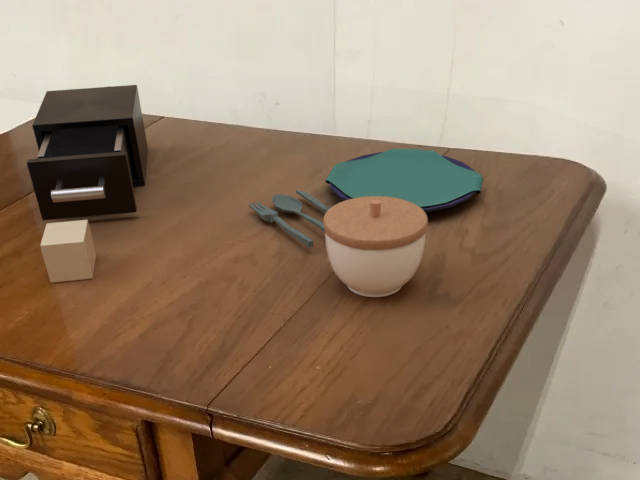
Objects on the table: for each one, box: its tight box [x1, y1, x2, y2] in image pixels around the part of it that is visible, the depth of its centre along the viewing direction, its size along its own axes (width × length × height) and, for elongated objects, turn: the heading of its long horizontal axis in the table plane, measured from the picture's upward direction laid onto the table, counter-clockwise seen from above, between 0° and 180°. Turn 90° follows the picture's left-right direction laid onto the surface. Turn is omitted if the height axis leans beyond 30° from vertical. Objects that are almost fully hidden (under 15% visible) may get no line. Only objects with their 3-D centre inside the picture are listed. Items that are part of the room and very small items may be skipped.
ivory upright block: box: [39, 219, 97, 284], centre depth 87 cm, size 5×6×5 cm
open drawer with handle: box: [26, 125, 138, 221], centre depth 98 cm, size 18×12×7 cm, turn 9°
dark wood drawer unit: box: [31, 84, 149, 188], centre depth 108 cm, size 15×13×9 cm
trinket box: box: [323, 196, 429, 298], centre depth 81 cm, size 11×11×9 cm
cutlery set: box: [248, 148, 484, 249], centre depth 100 cm, size 20×30×2 cm, turn 122°
